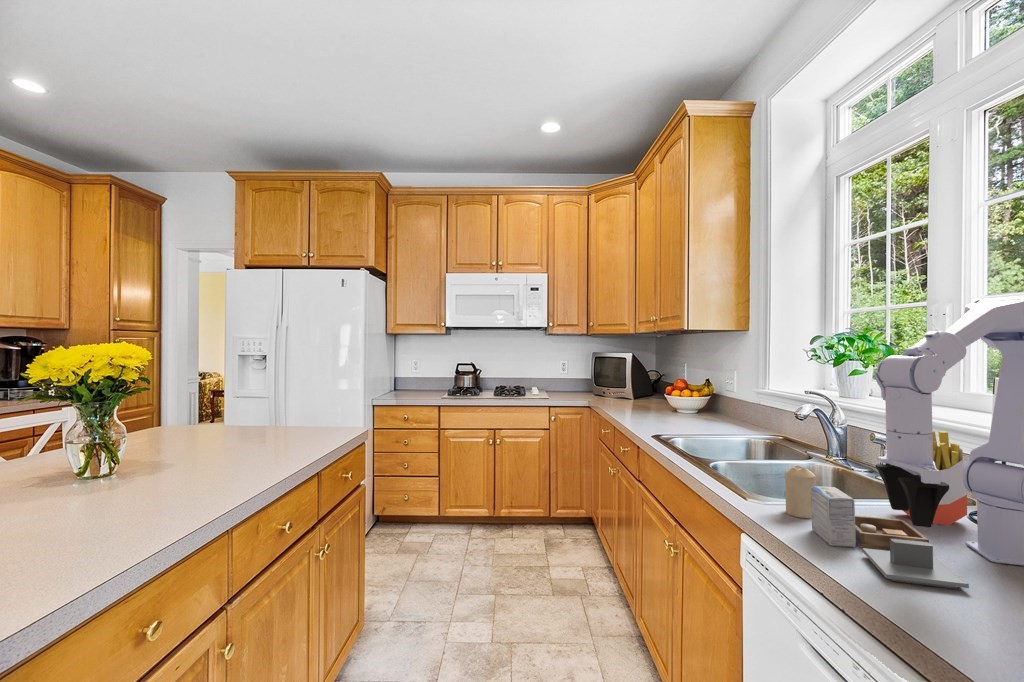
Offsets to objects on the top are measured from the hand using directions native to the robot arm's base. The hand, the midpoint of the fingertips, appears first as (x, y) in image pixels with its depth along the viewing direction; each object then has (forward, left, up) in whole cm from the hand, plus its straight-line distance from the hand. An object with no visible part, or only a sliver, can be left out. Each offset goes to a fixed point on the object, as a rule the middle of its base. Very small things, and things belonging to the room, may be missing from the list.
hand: (910, 517), depth 77 cm
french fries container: (-14, -29, -9) cm, 33 cm away
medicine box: (+8, -12, -9) cm, 17 cm away
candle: (+10, -25, -9) cm, 28 cm away
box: (-1, -14, -9) cm, 17 cm away
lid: (0, 0, -8) cm, 8 cm away
